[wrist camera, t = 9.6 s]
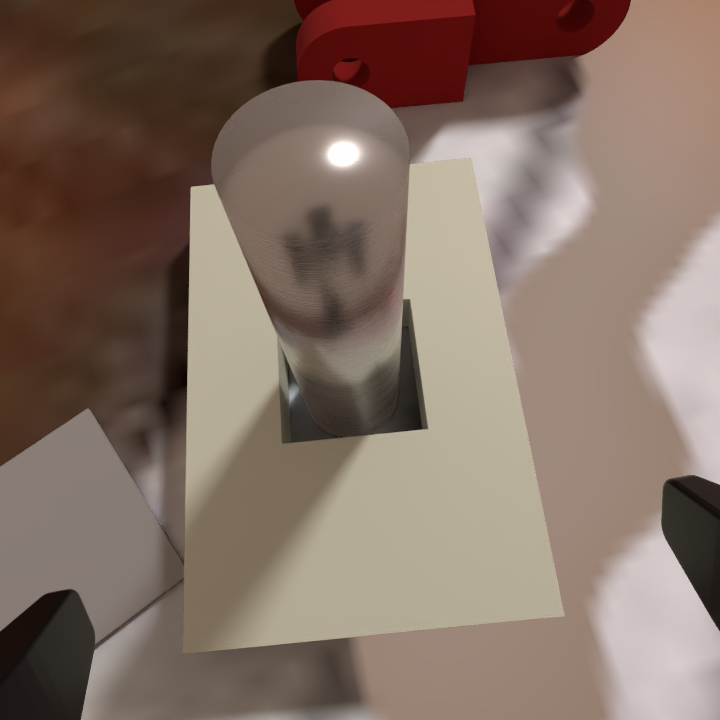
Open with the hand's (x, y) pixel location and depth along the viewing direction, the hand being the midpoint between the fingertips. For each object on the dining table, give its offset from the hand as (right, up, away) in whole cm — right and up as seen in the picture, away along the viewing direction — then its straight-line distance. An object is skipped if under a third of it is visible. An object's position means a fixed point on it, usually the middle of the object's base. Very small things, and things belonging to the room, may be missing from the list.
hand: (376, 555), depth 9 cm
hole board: (-1, +2, +15) cm, 15 cm away
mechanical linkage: (+5, +19, +23) cm, 30 cm away
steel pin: (-1, +2, +15) cm, 15 cm away
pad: (-12, -4, +13) cm, 19 cm away
